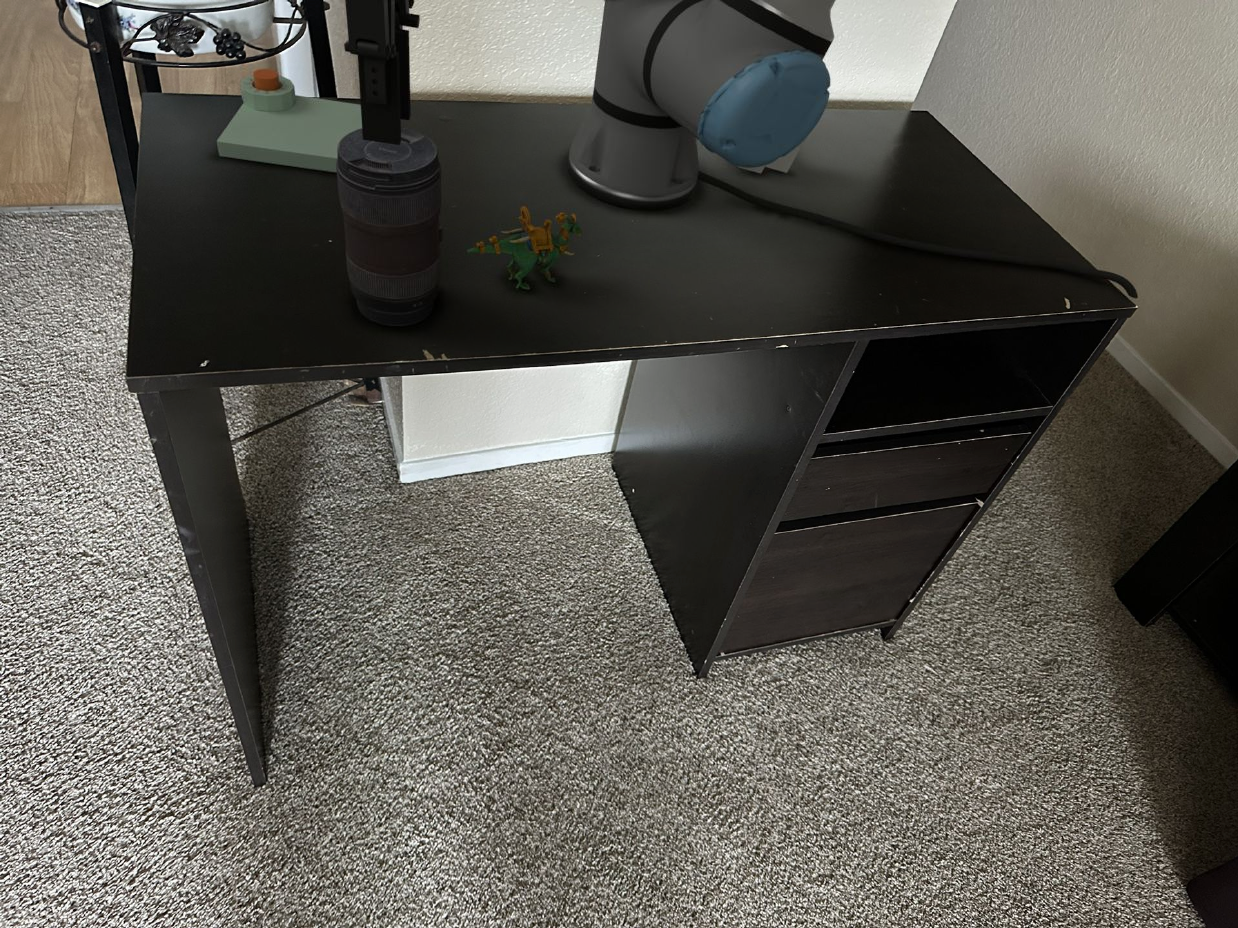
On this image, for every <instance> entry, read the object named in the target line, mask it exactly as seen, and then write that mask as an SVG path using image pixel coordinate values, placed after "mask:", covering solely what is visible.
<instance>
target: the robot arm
mask: <svg viewBox="0 0 1238 928" xmlns="http://www.w3.org/2000/svg"><path fill="white" fill-rule="evenodd" d="M603 1H604V4H603V11H602V12H603V14H602V20H601V21H602V22H601V29H600V37H599V42H598V43H599V45H598V52H597V61H596V67H595V76H594V85H593V91H592V92H593V93H592V97H591V98H592V99H591V103H590V105H589V107H588V109H587V111H586V114H585V116H584V118H583V120H582V122H581V124H580V125H579V128H578V130H577V132H576V135H575V137H574V139H573V141H572V142H571V146H570V148H569V150H568V158H567V159H568V161H567V172H568V174H569V176H570V178H571V180H572V181H573V182H574V183H575V184H576V185H577V186H578V187H579V188H580V189H582V191H584V192H585V193H587V194H588V195H591V196H593V197H594V198H596V199H599V200H601V201H604V202H606V203H609V204H612V205H615V206H619V207H623V208H629V209H635V210H648V211H650V210H651V211H653V210H665V209H670V208H674V207H678V206H681V205H683V204H684V203H686V202H688V201H690V199H691V198H692V197H694V196H695V193H696V190H697V187H698V183H699V181H701V182H704V183H706V184H708V185H711V186H713V187H715V188H718V189H720V190H722V191H724V192H726V193H729V194H731V195H733V196H735V197H737V198H738V199H740V200H743V201H744V202H745V201H746V202H747V203H750V204H752V205H756V206H758V207H761V208H764V209H767V210H771V211H774V212H777V213H779V214H780V213H781V214H785V215H788V216H792V217H796V218H800V219H804V220H808V221H811V222H815V223H819V224H822V225H825V226H829V227H832V228H835V229H838V230H841V231H844V232H848V233H851V234H854V235H857V236H861V237H864V238H867V239H869V240H874V241H878V242H882V243H886V244H891V245H895V246H899V247H903V248H908V249H913V250H919V251H923V252H928V253H936V254H940V255H947V256H953V257H959V258H967V259H974V260H975V259H976V260H982V261H983V260H984V261H991V262H999V263H1000V262H1001V263H1009V264H1015V265H1022V266H1031V267H1039V268H1041V267H1042V268H1047V269H1054V270H1055V269H1056V270H1060V271H1065V272H1069V273H1074V274H1078V275H1082V276H1086V277H1091V278H1092V277H1093V278H1096V279H1097V278H1099V279H1102V280H1107V281H1110V282H1113V283H1116V284H1118V285H1119V286H1121V287H1122V288H1123V289H1124V290H1125V293H1126V294H1127V295H1128V297H1130V298H1132V299H1138V298H1139V297H1138V296H1139V295H1138V292H1137V290H1136V288H1135V286H1134V285H1133V284H1132V282H1130V280H1128V279H1127V278H1126V277H1124V276H1123V275H1121V274H1117V273H1114V272H1111V271H1107V270H1101V269H1096V268H1090V267H1085V266H1081V265H1077V264H1074V263H1069V262H1065V261H1060V260H1059V261H1058V260H1053V259H1045V258H1037V257H1030V256H1029V257H1028V256H1020V255H1013V254H1006V253H1000V252H999V253H997V252H989V251H982V250H981V251H980V250H973V249H965V248H960V247H959V248H958V247H953V246H945V245H940V244H933V243H928V242H923V241H917V240H913V239H907V238H903V237H900V236H899V237H898V236H894V235H890V234H887V233H886V234H885V233H882V232H879V231H875V230H871V229H868V228H864V227H861V226H858V225H854V224H852V223H848V222H845V221H841V220H839V219H836V218H832V217H829V216H825V215H822V214H819V213H815V212H811V211H809V210H808V211H807V210H804V209H800V208H796V207H792V206H788V205H784V204H780V203H777V202H773V201H770V200H767V199H765V198H764V199H763V198H762V197H758V196H756V195H753V194H751V193H748V192H747V191H745V190H742V189H740V188H738V187H736V186H734V185H732V184H730V183H728V182H725V181H723V180H721V179H719V178H717V177H715V176H712V175H710V174H708V173H705V172H703V171H701V170H700V163H699V153H698V141H699V143H700V144H701V145H702V146H703V148H705V149H706V150H707V151H709V152H710V153H713V154H716V155H718V156H719V157H720V158H722V159H723V160H725V161H726V162H727V163H729V164H732V165H734V166H737V167H738V166H740V167H746V168H753V167H759V166H764V165H767V164H770V163H772V162H774V161H775V160H777V159H778V158H779V157H783V156H785V155H787V154H788V153H790V152H791V151H792V150H794V149H795V148H796V147H797V146H798V145H799V144H801V143H802V142H803V141H804V140H805V138H806V137H807V138H808V136H809V135H810V134H811V133H812V131H813V130H814V129H815V128H816V127H817V124H819V121H820V120H821V118H822V116H823V115H824V112H825V110H826V109H827V105H828V102H829V99H830V91H829V88H830V87H831V74H830V71H829V69H828V68H827V65H826V63H825V62H824V59H825V57H826V55H827V53H828V51H829V49H830V47H831V45H832V44H833V42H834V40H835V32H834V28H833V23H832V19H831V14H832V13H831V12H832V11H831V10H832V9H833V7H834V4H835V3H836V1H837V0H603ZM344 3H345V14H346V26H347V37H348V40H347V41H345V43H343V47H344V51H345V53H349V54H350V55H356V56H357V65H358V84H359V100H360V105H361V119H362V135H363V140H368V141H375V142H382V143H389V144H396V145H400V142H401V128H402V120H405V121H410V119H411V117H412V115H411V113H412V112H411V111H412V110H411V109H412V108H411V106H412V105H411V69H410V68H411V66H410V65H411V63H410V61H411V59H410V57H411V56H410V30H409V29H404V27H407V28H413V29H419V28H420V22H421V21H420V20H421V15H420V14H415V13H411V12H410V10H411V9H413V7H414V4H415V0H344ZM807 138H806V139H807ZM697 140H698V141H697ZM805 141H806V140H805Z"/></svg>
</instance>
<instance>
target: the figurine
mask: <svg viewBox="0 0 1238 928" xmlns="http://www.w3.org/2000/svg"><path fill="white" fill-rule="evenodd" d="M520 214H521V215H520V216H518V220H519V223H520V224H522V227H521V228H517V229H512V230H508V231H502V230H500V232H501V233H503V234H504V235H511V236H509V237H507V238H504V239H502V240H498V238H497V236H496V235H494V236H492V237H490V238H488V241H489V243H488V244H485V243H484V241H479V242H476V244H475V245H476V246H475V247H471V248H468V249H466V252H467V253H471V254H479V255H481V254H482V255H483V254H494V255H501V254H505V255H508V256H509V257H511V261H510V263H509V265H508V266H507V269H508V272H509V273H510V277H509V278H508V280H509V281H512V280H513V279H514V280H516V281H517V282H518V284H517V285H516V287H515V288H516V289H519V288H522V289H523V290H531V287H530V284H527V283H528V282H523V279H524V278H525V277H526V276H528V275H529V274H531V272H532V271H533V269H534V267H537V268H538V270H540V272H541V273H542V274H544V276H545V278H547V281H548V282H552V283H556V278H555V277H551V276H552V275H551V272H550V269H551V268H552V267H553V266H554V265H555V264H556V262H557V260H558V259H559V258H560V255H564V256H566V257H570V256H571V257H572V256H573V255H574V254H575V252H573V253H571V252H569V251H567V249H568V248H569V240H570V234H577V236H579V237H580V236H582V229H581V227H580V225H579V222H578V221H577V216H576V215H575V214H574V213H572V214H571V215H570V216H568V214H565V213H564V212H560V213H559V214H557V215H555V220H556V221H557V224H558V225H560V226H559V228H558V231H557V232H556V235H553V234H552V233H551V231H550V230H551V227H552V223H553V221H552V220H550V219H545V220H544V223H543V224H544V225H543V226H533V224H532V222H531V214H530V211H529V210H528V208H527V207H526V206H524V205H522V206H521V207H520ZM563 221H567V222H565V223H563ZM516 266H519V267H520V270H519V271H518V272H517V271H516V269H515V267H516ZM544 266H545V267H544Z"/></svg>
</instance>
